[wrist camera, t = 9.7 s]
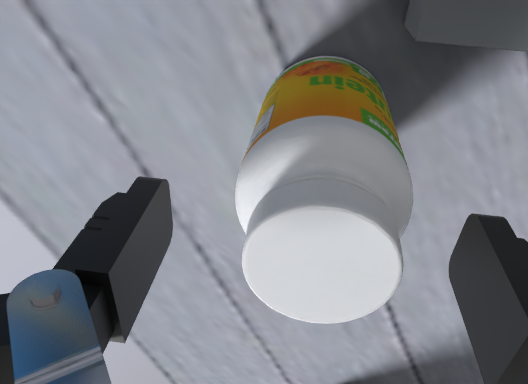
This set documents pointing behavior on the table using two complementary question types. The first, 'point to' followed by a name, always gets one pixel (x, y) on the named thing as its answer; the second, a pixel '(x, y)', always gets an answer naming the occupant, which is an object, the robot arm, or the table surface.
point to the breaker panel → (470, 23)
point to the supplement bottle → (324, 194)
